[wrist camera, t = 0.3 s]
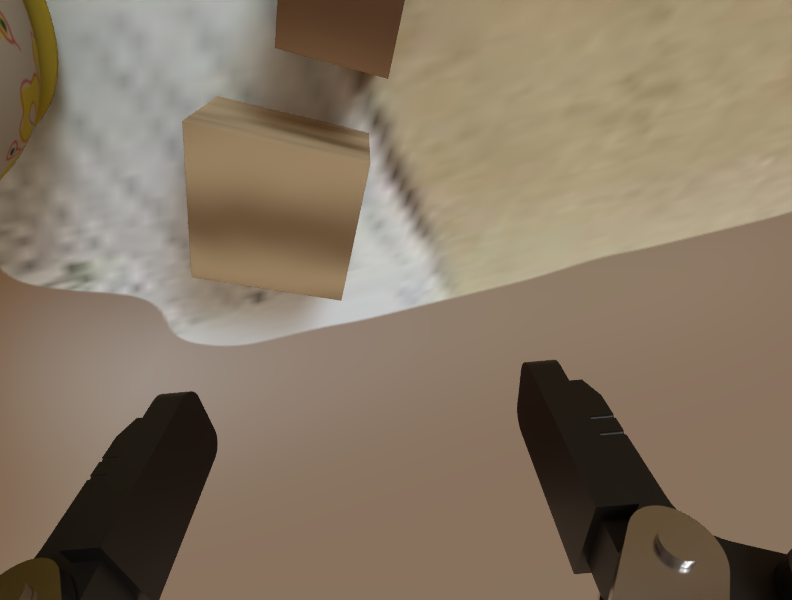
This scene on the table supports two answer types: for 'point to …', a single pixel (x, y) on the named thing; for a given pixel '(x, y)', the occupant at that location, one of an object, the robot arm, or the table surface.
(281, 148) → the oak box
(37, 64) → the flowerpot
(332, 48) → the walnut block
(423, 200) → the table surface
